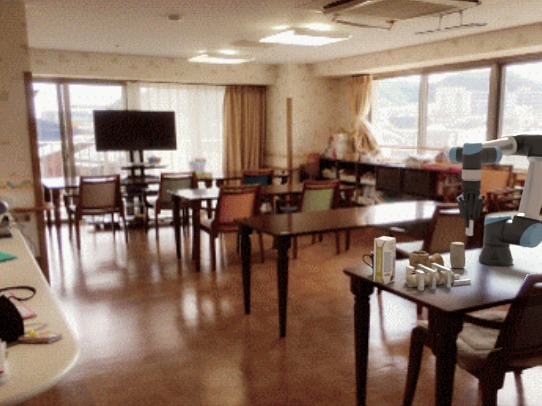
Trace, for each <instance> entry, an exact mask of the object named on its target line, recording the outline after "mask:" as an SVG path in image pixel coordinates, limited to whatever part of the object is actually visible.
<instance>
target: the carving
mask: <svg viewBox="0 0 542 406" xmlns="http://www.w3.org/2000/svg"><path fill="white" fill-rule="evenodd" d="M449 247H450V248H449V262H450V266H451V268H453V269H462V268H465V266H466V249H465V243H464V242H462V241H452V242H451V243H450V246H449Z"/></svg>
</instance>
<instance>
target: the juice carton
mask: <svg viewBox="0 0 542 406" xmlns="http://www.w3.org/2000/svg"><path fill="white" fill-rule="evenodd" d="M396 240H397V239H396V237H391V236H385V235H383V236H380V237H377V238H376V237H375V238H374V242H373V243H374V244H373V251H374V274H373V282H374V283H378V284H382V285H388V284H391V283H393V282H395V279H396V256H397V254H396V253H397V252H396V251H397V245H396V244H397V241H396Z"/></svg>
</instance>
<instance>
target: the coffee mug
mask: <svg viewBox="0 0 542 406" xmlns="http://www.w3.org/2000/svg"><path fill="white" fill-rule="evenodd" d="M366 256H367V257H369V258H370V260H371V264H369V263H368V262H367V261H365V257H366ZM362 261H363V262H364V264H366V265H367V266H368V267H370V268H371V269H372V275H374V250H372V251H370V254H369V253H367V254H363V255H362Z"/></svg>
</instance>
